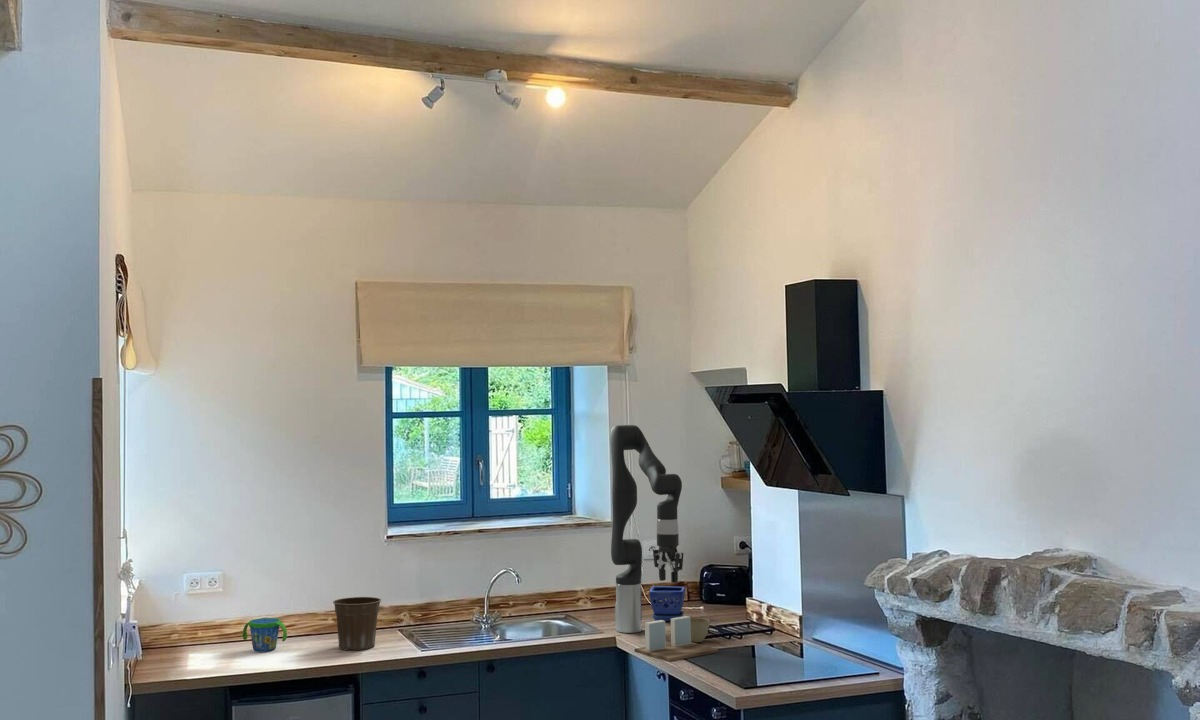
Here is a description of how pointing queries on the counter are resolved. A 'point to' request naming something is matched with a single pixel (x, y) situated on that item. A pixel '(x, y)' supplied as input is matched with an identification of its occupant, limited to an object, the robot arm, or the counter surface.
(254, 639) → the snack cup
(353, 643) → the plant pot
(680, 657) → the board
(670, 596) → the flower pot
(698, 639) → the flower pot
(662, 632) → the tile near
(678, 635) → the tile far
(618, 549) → the robot arm
